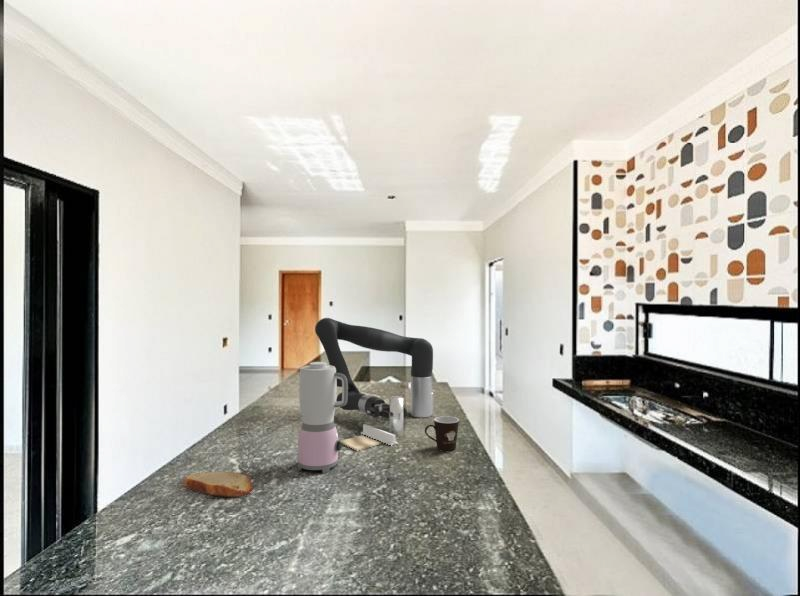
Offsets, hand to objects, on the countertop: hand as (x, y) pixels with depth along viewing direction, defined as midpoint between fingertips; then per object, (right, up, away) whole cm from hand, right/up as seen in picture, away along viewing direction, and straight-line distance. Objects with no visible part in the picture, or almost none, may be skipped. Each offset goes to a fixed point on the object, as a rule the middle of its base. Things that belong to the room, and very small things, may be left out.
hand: (397, 413), depth 174 cm
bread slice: (-50, -9, -47) cm, 69 cm away
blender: (-23, -9, -32) cm, 40 cm away
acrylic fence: (-7, -8, -5) cm, 12 cm away
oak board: (-13, -8, -10) cm, 19 cm away
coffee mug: (+15, -8, -15) cm, 23 cm away
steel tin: (0, -8, +1) cm, 8 cm away
